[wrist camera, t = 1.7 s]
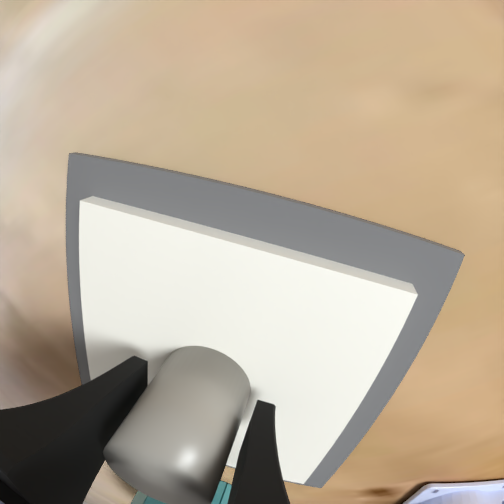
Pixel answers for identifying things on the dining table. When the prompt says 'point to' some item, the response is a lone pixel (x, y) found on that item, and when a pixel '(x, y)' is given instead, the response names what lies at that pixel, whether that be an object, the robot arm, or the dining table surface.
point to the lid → (226, 344)
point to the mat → (281, 234)
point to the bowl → (220, 500)
